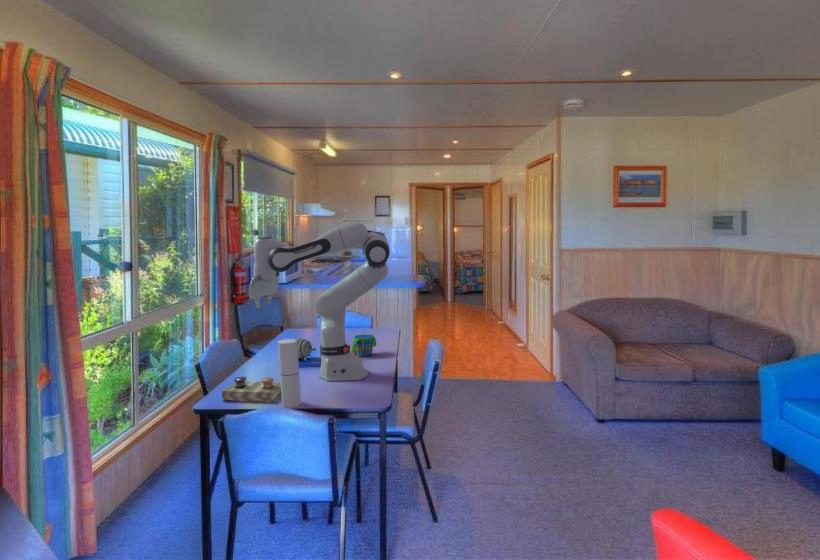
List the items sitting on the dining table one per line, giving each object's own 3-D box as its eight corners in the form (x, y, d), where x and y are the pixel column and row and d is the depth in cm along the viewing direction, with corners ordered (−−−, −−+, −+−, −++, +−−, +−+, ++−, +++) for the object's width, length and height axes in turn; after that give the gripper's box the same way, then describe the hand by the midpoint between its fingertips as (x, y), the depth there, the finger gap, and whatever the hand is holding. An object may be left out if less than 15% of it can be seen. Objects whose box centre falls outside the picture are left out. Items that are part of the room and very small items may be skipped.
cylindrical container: (283, 408, 193) (279, 344, 189) (280, 402, 199) (276, 340, 196) (302, 405, 195) (298, 341, 192) (298, 399, 202) (295, 338, 199)
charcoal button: (249, 386, 210) (248, 376, 210) (243, 390, 206) (242, 380, 205) (238, 386, 211) (237, 376, 211) (232, 390, 206) (231, 380, 206)
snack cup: (369, 350, 273) (369, 332, 272) (382, 354, 265) (382, 335, 264) (346, 357, 262) (345, 337, 261) (359, 360, 254) (358, 340, 253)
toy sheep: (291, 356, 267) (290, 335, 266) (321, 357, 263) (319, 336, 261) (281, 362, 257) (280, 340, 256) (312, 363, 253) (310, 341, 251)
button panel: (286, 392, 211) (285, 382, 211) (273, 402, 200) (272, 392, 199) (237, 390, 215) (237, 381, 215) (222, 400, 204) (221, 391, 203)
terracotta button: (276, 387, 208) (275, 377, 207) (270, 391, 203) (270, 381, 203) (265, 387, 209) (264, 377, 208) (259, 391, 204) (259, 381, 204)
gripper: (259, 278, 209) (258, 311, 211) (281, 271, 229) (280, 301, 231) (245, 276, 210) (244, 309, 212) (268, 270, 230) (267, 300, 232)
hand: (263, 305), depth 222 cm, fingers open, 8 cm apart
